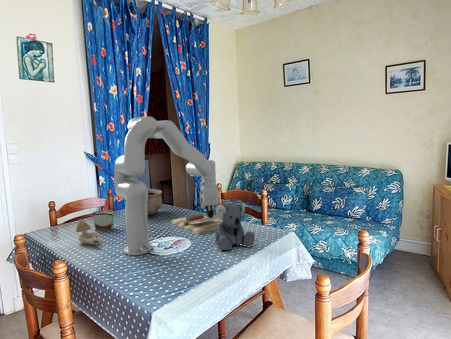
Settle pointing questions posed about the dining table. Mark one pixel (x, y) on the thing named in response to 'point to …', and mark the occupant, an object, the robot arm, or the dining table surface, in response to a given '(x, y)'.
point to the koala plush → (232, 227)
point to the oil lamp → (86, 234)
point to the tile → (203, 220)
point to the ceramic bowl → (153, 201)
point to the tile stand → (197, 227)
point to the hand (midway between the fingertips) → (210, 217)
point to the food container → (103, 219)
